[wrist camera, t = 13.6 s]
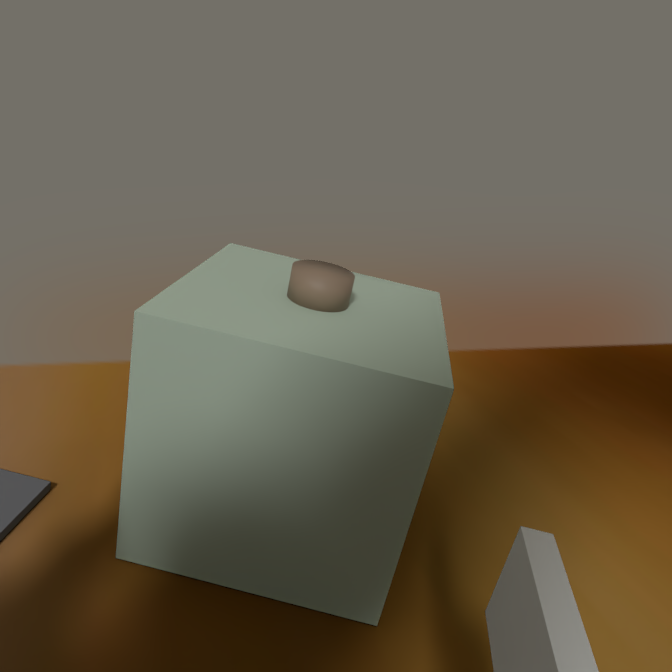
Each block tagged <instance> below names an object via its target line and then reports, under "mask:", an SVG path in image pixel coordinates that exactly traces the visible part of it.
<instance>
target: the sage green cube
mask: <svg viewBox="0 0 672 672" xmlns="http://www.w3.org/2000/svg"><path fill="white" fill-rule="evenodd" d="M453 391H454V385H453V379H452V372H451V366H450V359H449V353H448V346H447V340H446V334H445V327H444V320H443V314H442V308H441V301H440V294H439V293H438V292H434V291H430V290H425V289H421V288H417V287H413V286H409V285H404V284H401V283H396V282H392V281H388V280H384V279H379V278H375V277H371V276H367V275H363V274H358V273H354V272H351V271H349V270H347V269H345V268H343V267H340V266H338V265H334V264H331V263H327V262H322V261H315V260H299V259H295V258H291V257H287V256H283V255H278V254H274V253H270V252H265V251H261V250H257V249H253V248H249V247H245V246H240V245H236V244H232V243H230V244H229V245H227V246H226V247H224V248H223V249H222V250H220V251H219V252H217V253H216V254H215V255H213V256H212V257H210V258H209V259H208V260H206V261H205V262H203V263H202V264H201V265H199V266H198V267H196V268H195V269H193V270H192V271H191V272H189V273H188V274H186V275H185V276H183V277H182V278H181V279H179V280H178V281H176V282H175V283H174V284H172V285H171V286H169V287H168V288H167V289H165V290H164V291H162V292H161V293H159V294H158V295H157V296H155V297H154V298H152V299H151V300H150V301H148V302H147V303H145V304H144V305H143V306H141V307H140V308H138V309H137V310H135V313H134V325H133V339H132V351H131V364H130V377H129V390H128V403H127V416H126V429H125V442H124V456H123V469H122V482H121V495H120V508H119V521H118V534H117V547H116V558H118V559H122V560H126V561H130V562H133V563H137V564H141V565H145V566H149V567H153V568H156V569H160V570H164V571H168V572H172V573H176V574H179V575H183V576H187V577H191V578H195V579H198V580H202V581H206V582H210V583H214V584H218V585H221V586H225V587H229V588H233V589H237V590H241V591H244V592H248V593H252V594H256V595H260V596H264V597H267V598H271V599H275V600H279V601H283V602H286V603H290V604H294V605H298V606H302V607H306V608H309V609H313V610H317V611H321V612H325V613H329V614H332V615H336V616H340V617H344V618H348V619H352V620H355V621H359V622H363V623H367V624H371V625H375V626H377V625H378V622H379V618H380V615H381V612H382V609H383V606H384V603H385V600H386V597H387V594H388V591H389V588H390V585H391V582H392V578H393V575H394V572H395V569H396V566H397V563H398V560H399V557H400V554H401V551H402V548H403V545H404V541H405V538H406V535H407V532H408V529H409V526H410V523H411V520H412V517H413V514H414V511H415V508H416V505H417V501H418V498H419V495H420V492H421V489H422V486H423V483H424V480H425V477H426V474H427V471H428V468H429V465H430V461H431V458H432V455H433V452H434V449H435V446H436V443H437V440H438V437H439V434H440V431H441V428H442V424H443V421H444V418H445V415H446V412H447V409H448V406H449V403H450V400H451V397H452V394H453Z"/></svg>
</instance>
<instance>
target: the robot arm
mask: <svg viewBox="0 0 672 672" xmlns="http://www.w3.org/2000/svg"><path fill="white" fill-rule="evenodd" d="M485 613H486V620H487V627H488V634H489V641H490V648H491V655H492V662H493V669H494V672H599V671H598V668H597V665H596V662H595V659H594V656H593V653H592V650H591V647H590V644H589V641H588V638H587V635H586V632H585V629H584V626H583V623H582V620H581V617H580V614H579V611H578V608H577V605H576V602H575V599H574V596H573V593H572V590H571V587H570V584H569V580H568V577H567V574H566V571H565V568H564V565H563V562H562V559H561V556H560V553H559V550H558V547H557V544H556V541H555V538H554V535H553V534H550V533H546V532H542V531H538V530H534V529H530V528H526V527H522V526H520V529H519V531H518V534H517V536H516V539H515V541H514V543H513V546H512V548H511V551H510V553H509V555H508V558H507V560H506V563H505V565H504V567H503V570H502V572H501V575H500V577H499V580H498V582H497V584H496V587H495V589H494V592H493V594H492V596H491V599H490V601H489V604H488V606H487V608H486V611H485Z"/></svg>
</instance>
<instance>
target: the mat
mask: <svg viewBox="0 0 672 672" xmlns="http://www.w3.org/2000/svg"><path fill="white" fill-rule="evenodd" d="M50 486H51V482H49V481H46V480H42V479H38V478H34V477H30V476H26V475H22V474H18V473H15V472H11V471H7V470H3V469H0V541H1V540H2V539H3V538H4V537H5V536H6V535H7V534H8V533H9V532H10V531H11V530H12V529H13V528H14V527H15V526H16V525H17V524H18V523H19V522H20V521H21V520H22V518H23V517H24V516H25V515H26V514H27V513H28V512H29V511H30V510H31V509H32V508H33V507H34V506H35V505H36V504H37V503H38V502H39V501H40V500H41V499H42V498H43V497H44V496H45V495H46V494H47V493H48V492H49V491H50Z"/></svg>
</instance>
